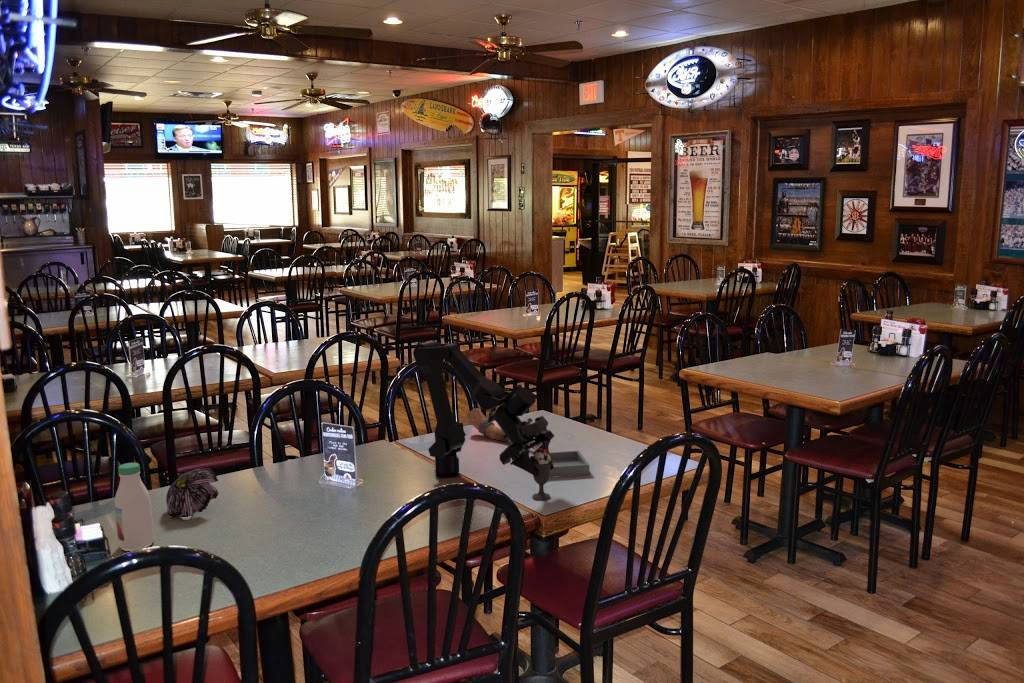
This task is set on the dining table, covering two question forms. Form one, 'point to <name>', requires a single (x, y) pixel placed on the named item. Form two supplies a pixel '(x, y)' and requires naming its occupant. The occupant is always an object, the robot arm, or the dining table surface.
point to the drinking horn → (486, 425)
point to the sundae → (542, 471)
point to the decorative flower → (191, 492)
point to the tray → (568, 464)
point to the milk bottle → (133, 509)
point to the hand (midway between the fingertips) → (545, 472)
